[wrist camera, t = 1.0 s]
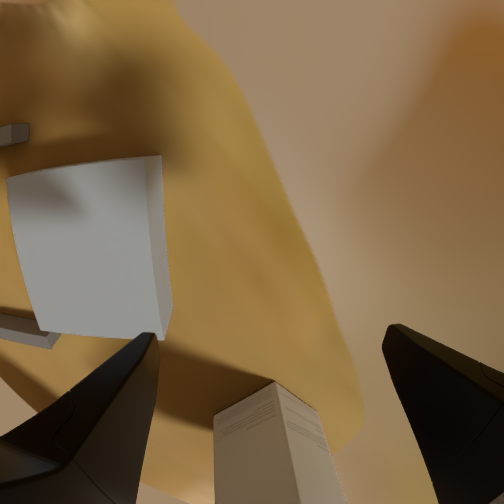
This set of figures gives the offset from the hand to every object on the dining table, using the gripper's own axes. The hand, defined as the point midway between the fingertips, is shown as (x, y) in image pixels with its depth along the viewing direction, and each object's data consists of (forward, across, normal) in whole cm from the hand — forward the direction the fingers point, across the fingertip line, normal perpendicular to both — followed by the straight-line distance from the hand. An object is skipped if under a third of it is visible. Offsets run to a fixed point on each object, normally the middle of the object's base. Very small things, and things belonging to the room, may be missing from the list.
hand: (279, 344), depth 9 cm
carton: (+10, +10, 0) cm, 14 cm away
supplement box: (+10, -2, +17) cm, 20 cm away
